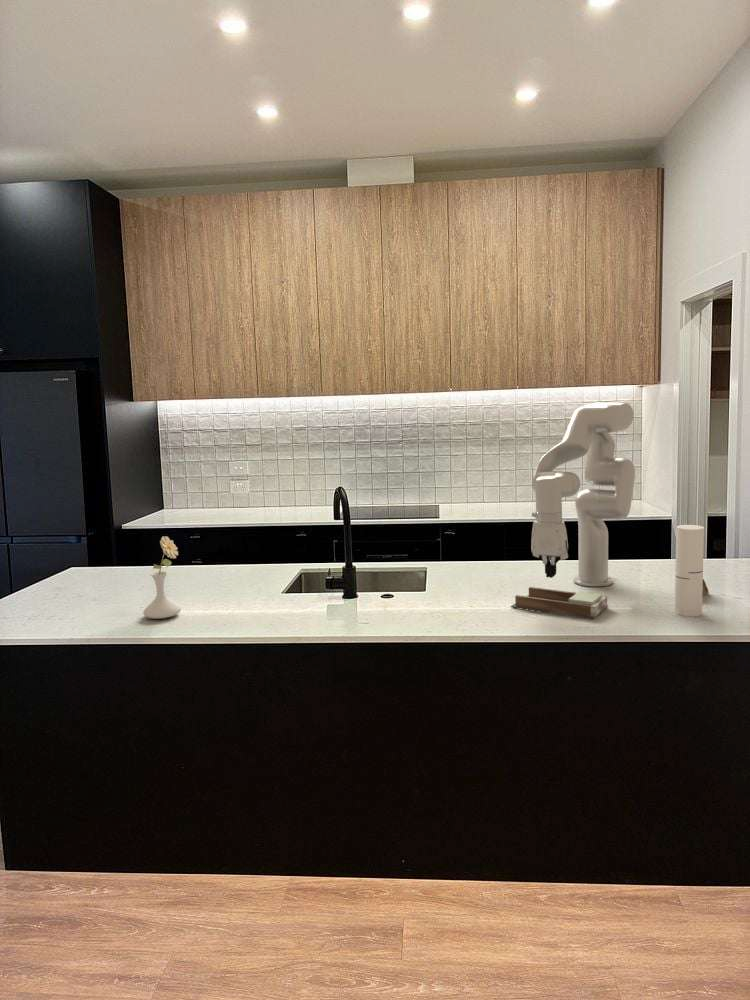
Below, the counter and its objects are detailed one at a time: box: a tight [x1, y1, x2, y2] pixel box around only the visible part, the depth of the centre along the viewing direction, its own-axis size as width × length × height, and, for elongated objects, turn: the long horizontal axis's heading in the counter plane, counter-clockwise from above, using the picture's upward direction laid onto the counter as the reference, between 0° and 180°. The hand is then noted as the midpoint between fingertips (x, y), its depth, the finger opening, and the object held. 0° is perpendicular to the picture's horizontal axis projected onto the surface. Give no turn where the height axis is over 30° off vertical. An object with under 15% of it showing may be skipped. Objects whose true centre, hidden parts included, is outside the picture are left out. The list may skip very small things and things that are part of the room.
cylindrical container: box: [674, 524, 705, 617], centre depth 204 cm, size 7×7×25 cm
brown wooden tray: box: [510, 586, 608, 621], centre depth 215 cm, size 13×25×4 cm, turn 55°
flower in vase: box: [143, 535, 182, 620], centre depth 223 cm, size 13×11×25 cm
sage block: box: [569, 591, 602, 605], centre depth 211 cm, size 8×7×4 cm
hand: (550, 576), depth 217 cm, fingers closed
